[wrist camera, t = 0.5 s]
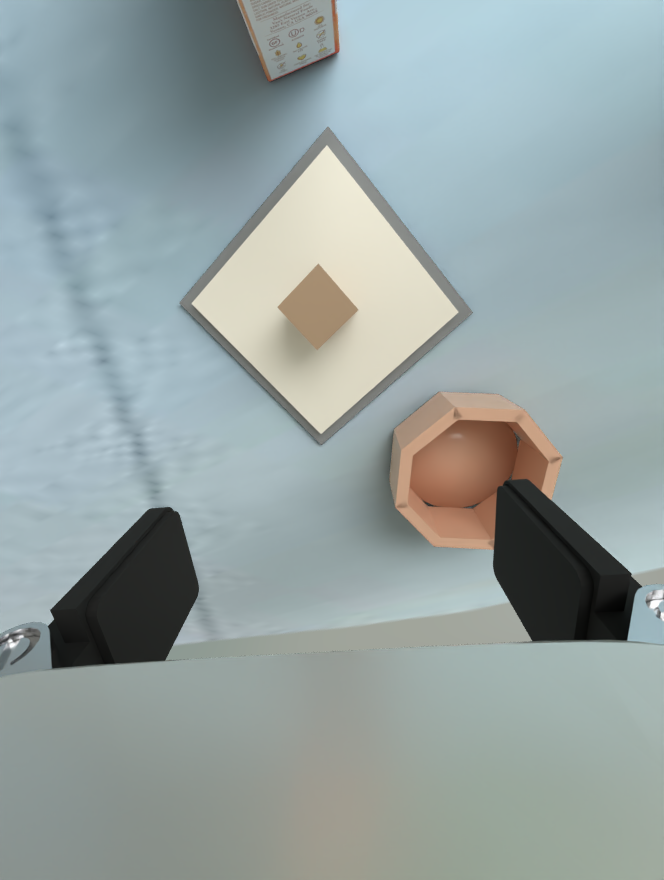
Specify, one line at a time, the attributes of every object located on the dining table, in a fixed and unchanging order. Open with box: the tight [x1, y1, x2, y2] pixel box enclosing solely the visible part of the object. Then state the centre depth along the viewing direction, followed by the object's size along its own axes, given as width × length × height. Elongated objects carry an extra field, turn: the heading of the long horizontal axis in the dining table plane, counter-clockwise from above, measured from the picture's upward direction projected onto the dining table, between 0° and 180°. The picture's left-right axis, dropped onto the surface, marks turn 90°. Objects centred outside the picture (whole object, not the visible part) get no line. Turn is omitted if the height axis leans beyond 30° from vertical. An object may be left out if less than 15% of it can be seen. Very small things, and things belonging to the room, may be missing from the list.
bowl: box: [389, 392, 563, 550], centre depth 34 cm, size 13×13×6 cm
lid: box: [191, 145, 458, 434], centre depth 29 cm, size 16×16×7 cm
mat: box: [180, 127, 473, 445], centre depth 32 cm, size 18×18×1 cm
